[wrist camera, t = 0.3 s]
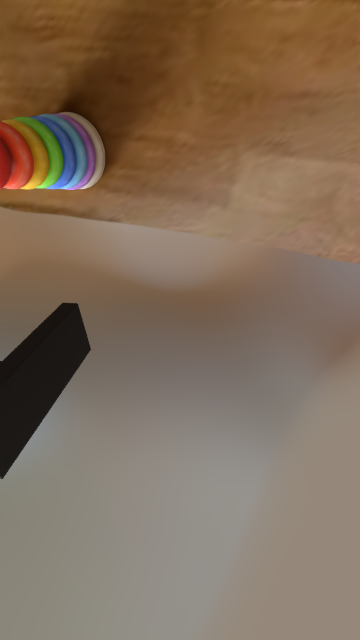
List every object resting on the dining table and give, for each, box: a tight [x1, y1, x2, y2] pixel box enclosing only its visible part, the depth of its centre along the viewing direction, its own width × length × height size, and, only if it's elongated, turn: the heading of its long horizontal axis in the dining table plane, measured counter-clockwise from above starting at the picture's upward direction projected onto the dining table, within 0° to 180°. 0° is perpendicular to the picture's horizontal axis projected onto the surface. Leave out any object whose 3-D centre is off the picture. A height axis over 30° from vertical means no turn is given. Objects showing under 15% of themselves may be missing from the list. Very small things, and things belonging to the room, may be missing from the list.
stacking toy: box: [0, 112, 105, 190], centre depth 27 cm, size 8×8×19 cm
